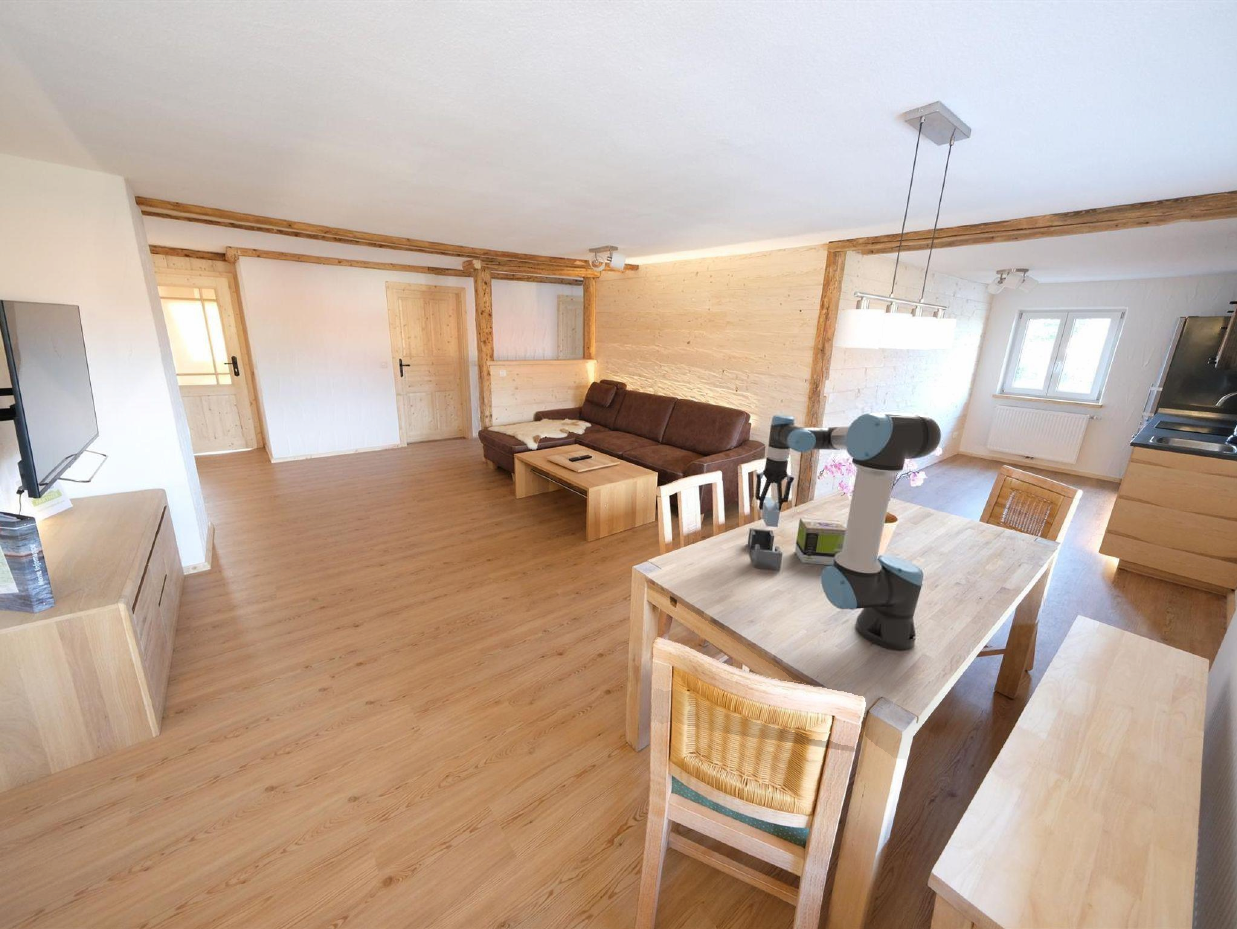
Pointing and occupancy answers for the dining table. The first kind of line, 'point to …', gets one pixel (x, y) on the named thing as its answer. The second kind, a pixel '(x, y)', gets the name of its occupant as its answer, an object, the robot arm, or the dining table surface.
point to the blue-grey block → (771, 513)
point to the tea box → (819, 540)
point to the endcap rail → (764, 550)
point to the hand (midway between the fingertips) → (768, 517)
